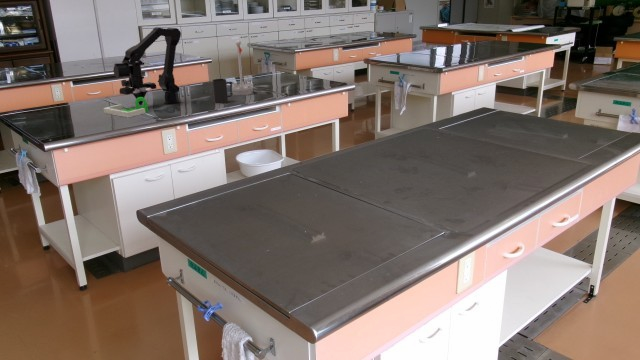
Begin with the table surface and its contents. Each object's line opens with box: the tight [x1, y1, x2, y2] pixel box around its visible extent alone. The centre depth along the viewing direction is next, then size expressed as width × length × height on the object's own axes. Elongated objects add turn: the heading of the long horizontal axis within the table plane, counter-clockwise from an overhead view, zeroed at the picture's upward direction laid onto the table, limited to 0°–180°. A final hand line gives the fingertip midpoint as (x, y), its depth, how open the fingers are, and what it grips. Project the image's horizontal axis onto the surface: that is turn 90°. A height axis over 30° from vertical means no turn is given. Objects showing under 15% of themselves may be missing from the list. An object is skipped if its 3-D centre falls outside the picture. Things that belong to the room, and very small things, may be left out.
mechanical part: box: [122, 97, 149, 114], centre depth 263 cm, size 12×6×8 cm, turn 110°
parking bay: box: [103, 103, 146, 118], centre depth 263 cm, size 10×19×2 cm, turn 55°
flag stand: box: [232, 39, 254, 96], centre depth 297 cm, size 13×13×30 cm
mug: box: [212, 78, 233, 104], centre depth 280 cm, size 10×7×12 cm
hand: (140, 104), depth 271 cm, fingers closed
